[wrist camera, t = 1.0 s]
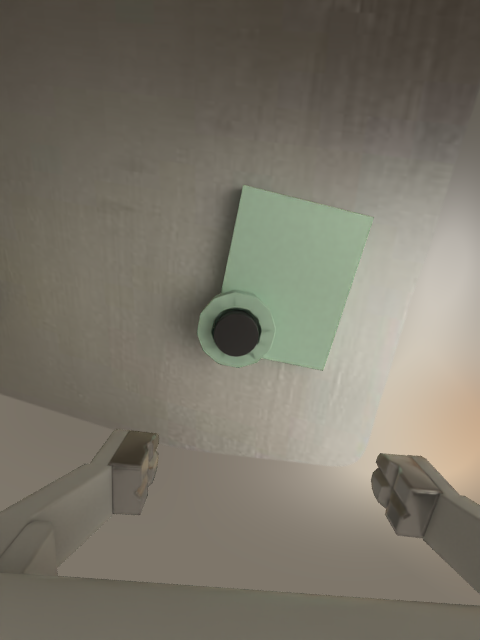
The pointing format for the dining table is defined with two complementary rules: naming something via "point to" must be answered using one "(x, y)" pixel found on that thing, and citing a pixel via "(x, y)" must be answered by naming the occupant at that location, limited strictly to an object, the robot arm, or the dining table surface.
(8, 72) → the dining table surface
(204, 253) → the dining table surface
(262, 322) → the scale
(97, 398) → the dining table surface
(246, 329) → the tare button
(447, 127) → the dining table surface
